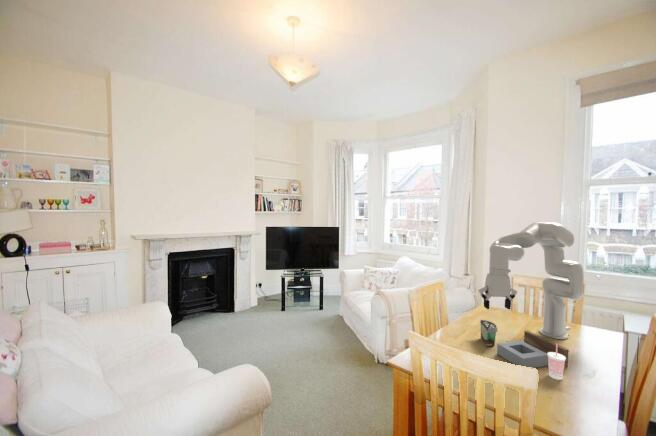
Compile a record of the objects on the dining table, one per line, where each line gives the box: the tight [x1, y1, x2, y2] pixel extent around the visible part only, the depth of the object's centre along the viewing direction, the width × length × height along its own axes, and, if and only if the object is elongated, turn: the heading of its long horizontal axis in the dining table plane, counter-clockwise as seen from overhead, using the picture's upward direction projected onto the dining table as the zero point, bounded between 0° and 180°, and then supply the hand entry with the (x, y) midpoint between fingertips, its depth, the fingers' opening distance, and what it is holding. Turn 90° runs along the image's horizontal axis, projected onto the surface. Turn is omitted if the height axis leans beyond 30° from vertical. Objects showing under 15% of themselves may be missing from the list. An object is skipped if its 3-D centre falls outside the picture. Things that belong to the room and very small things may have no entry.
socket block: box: [496, 340, 548, 369], centre depth 135 cm, size 14×14×5 cm
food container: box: [480, 319, 498, 348], centre depth 151 cm, size 12×6×10 cm, turn 168°
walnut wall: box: [523, 330, 570, 369], centre depth 138 cm, size 2×20×8 cm, turn 14°
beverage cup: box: [547, 343, 566, 381], centre depth 122 cm, size 6×6×14 cm
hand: (497, 308), depth 136 cm, fingers open, 9 cm apart
